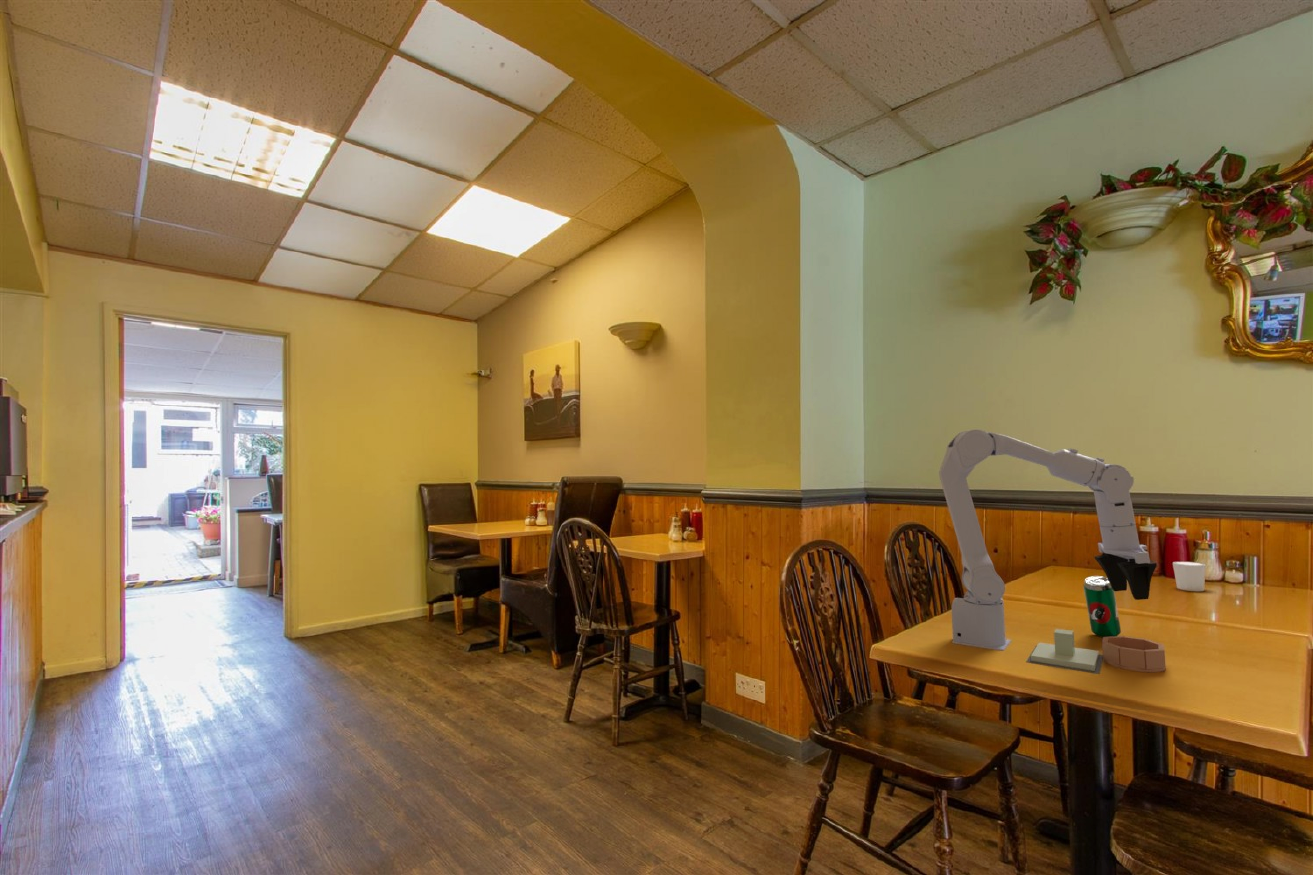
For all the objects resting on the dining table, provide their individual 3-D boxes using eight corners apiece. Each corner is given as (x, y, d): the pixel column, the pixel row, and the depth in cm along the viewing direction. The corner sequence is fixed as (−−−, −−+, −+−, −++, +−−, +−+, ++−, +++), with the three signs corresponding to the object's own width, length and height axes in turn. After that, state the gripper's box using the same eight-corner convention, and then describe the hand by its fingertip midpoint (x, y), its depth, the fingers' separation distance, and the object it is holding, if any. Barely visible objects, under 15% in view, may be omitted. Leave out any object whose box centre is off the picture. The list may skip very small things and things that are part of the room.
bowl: (1102, 667, 109) (1100, 645, 109) (1105, 654, 116) (1104, 633, 116) (1165, 677, 103) (1164, 654, 103) (1165, 663, 110) (1164, 641, 110)
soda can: (1126, 636, 124) (1117, 583, 122) (1099, 641, 125) (1090, 588, 123) (1112, 624, 129) (1103, 573, 127) (1086, 628, 130) (1077, 577, 128)
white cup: (1185, 591, 163) (1183, 565, 163) (1168, 586, 170) (1166, 561, 170) (1214, 591, 162) (1212, 565, 162) (1195, 586, 169) (1194, 561, 169)
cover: (1031, 660, 113) (1029, 633, 113) (1039, 647, 120) (1037, 622, 120) (1094, 670, 107) (1093, 642, 107) (1099, 656, 114) (1097, 629, 114)
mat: (1026, 664, 112) (1025, 661, 112) (1036, 647, 121) (1036, 645, 121) (1099, 676, 105) (1099, 673, 105) (1104, 657, 114) (1104, 655, 114)
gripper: (1162, 526, 111) (1177, 601, 110) (1120, 519, 125) (1133, 585, 124) (1119, 530, 112) (1133, 604, 111) (1082, 522, 126) (1094, 588, 125)
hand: (1130, 594), depth 118 cm, fingers open, 7 cm apart
